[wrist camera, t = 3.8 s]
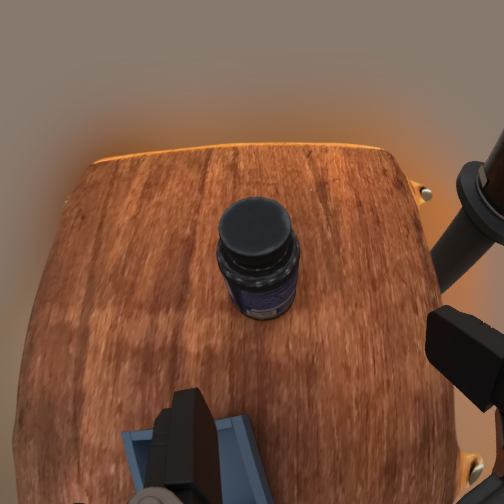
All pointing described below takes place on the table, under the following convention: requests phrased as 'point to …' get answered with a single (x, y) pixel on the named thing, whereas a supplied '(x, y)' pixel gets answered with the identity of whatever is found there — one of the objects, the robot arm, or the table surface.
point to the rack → (230, 454)
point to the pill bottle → (258, 257)
